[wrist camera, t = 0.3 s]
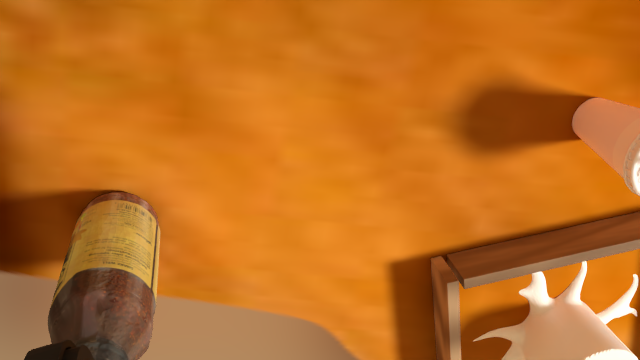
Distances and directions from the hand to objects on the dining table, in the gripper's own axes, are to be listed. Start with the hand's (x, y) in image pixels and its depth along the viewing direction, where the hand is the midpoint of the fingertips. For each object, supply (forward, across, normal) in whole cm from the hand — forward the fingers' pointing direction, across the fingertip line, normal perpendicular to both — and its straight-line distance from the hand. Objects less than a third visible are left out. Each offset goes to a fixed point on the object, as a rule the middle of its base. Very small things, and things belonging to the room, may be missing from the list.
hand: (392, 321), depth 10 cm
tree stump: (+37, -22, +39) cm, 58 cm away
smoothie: (+36, -26, +16) cm, 48 cm away
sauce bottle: (+36, +14, +14) cm, 41 cm away
